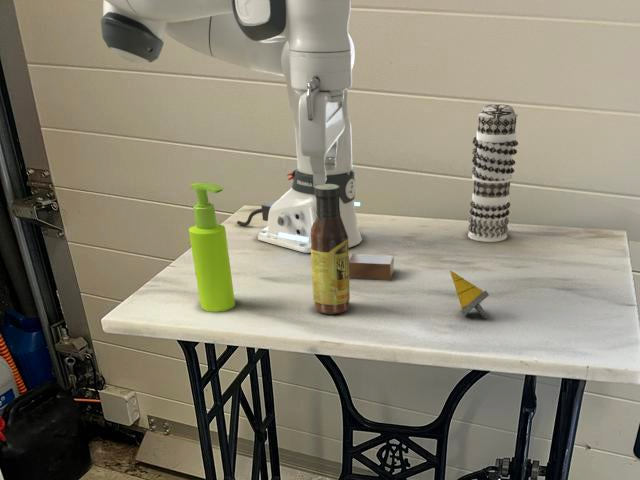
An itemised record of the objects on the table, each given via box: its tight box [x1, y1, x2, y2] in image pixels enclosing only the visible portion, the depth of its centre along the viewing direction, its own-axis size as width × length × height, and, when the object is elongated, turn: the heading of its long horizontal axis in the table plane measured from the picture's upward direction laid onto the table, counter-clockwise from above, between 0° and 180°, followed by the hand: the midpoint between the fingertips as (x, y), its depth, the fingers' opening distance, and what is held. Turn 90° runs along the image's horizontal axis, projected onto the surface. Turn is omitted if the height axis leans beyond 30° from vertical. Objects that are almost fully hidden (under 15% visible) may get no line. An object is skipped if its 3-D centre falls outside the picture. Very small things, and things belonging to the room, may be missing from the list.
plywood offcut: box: [349, 253, 395, 281], centre depth 139 cm, size 8×5×3 cm, turn 83°
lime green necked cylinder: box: [188, 181, 236, 313], centre depth 121 cm, size 6×7×20 cm
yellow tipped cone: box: [450, 270, 490, 319], centre depth 122 cm, size 5×5×10 cm
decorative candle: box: [467, 103, 519, 243], centre depth 151 cm, size 9×9×25 cm
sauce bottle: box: [310, 184, 351, 315], centre depth 120 cm, size 7×6×20 cm
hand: (325, 176), depth 113 cm, fingers open, 8 cm apart
